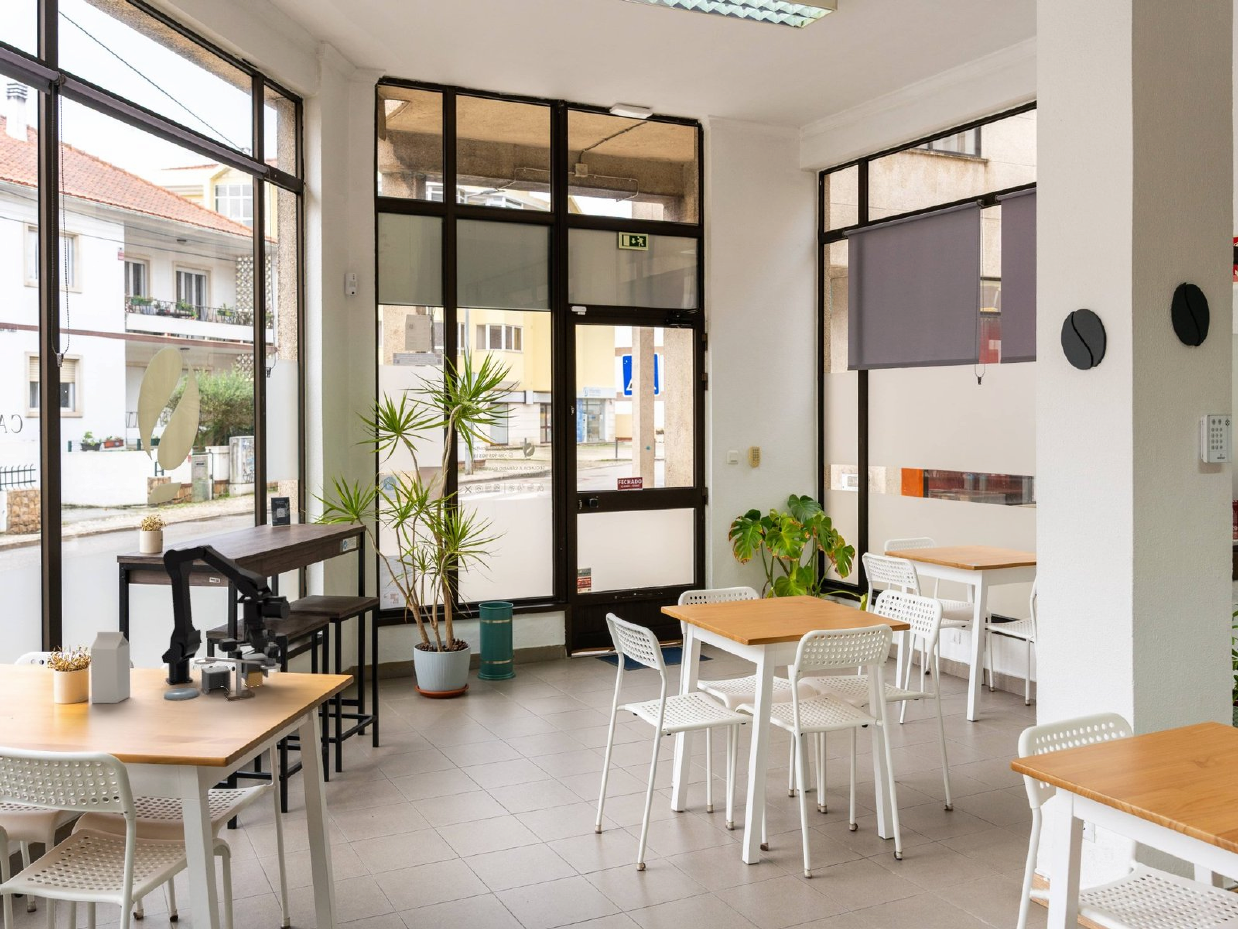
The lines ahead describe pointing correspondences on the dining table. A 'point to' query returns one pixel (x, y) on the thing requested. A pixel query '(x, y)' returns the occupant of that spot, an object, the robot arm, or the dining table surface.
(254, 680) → the orange block
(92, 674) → the milk carton
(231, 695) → the balance scale
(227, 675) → the grey cube box
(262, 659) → the hiding cup
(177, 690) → the slate dish
